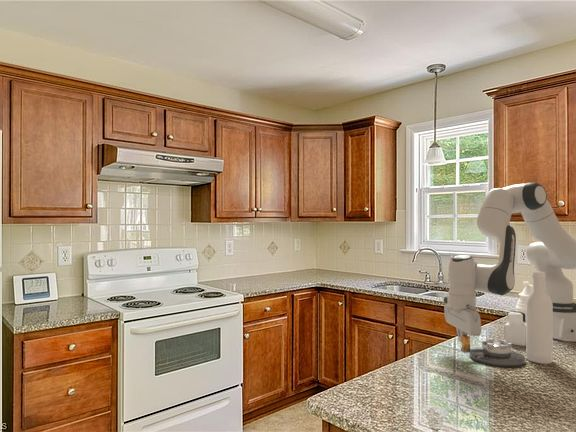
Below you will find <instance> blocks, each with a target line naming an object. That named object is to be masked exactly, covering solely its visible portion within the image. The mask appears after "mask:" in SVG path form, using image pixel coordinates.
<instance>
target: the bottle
mask: <svg viewBox="0 0 576 432" xmlns="http://www.w3.org/2000/svg"><path fill="white" fill-rule="evenodd" d="M545 278H546V276H545V272H538V271H532V285H533V293H531V294H530V295H529V296H528V298H527V301H526V321H525V324H526V345H525V347H526V348H525V355H526V358H525V359H526V360H527V361H529V362H532V363H535V364H540V365H541V364H543V365H544V364H545V365H547V364H548V365H550V364H552V363H553V362H554V338H553V304H552V301H551V298H550V297H549V296H548V295H547V294H546V293H545Z"/></svg>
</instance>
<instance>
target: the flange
mask: <svg viewBox="0 0 576 432" xmlns="http://www.w3.org/2000/svg"><path fill="white" fill-rule="evenodd" d="M469 358H470V359H471V360H473V361H475V362H477V363H480V364H483V365H487V366H491V367H500V368H518V367H522V366H524V365H525V364H526V358H525V356H524V355H523V354H522V353H519V352H516V351H513V350H511V357H508V358H498V357H491V356H488V355H485V354H483V353H482V352H469Z"/></svg>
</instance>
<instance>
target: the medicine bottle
mask: <svg viewBox="0 0 576 432" xmlns="http://www.w3.org/2000/svg"><path fill="white" fill-rule="evenodd" d="M503 331H504V333H503V334H504V338H503V340H506V344H507V343H511V345H514V346H520V347H526V321H525V314H524V313H522V312H518V311H516V310H511V311H508V312H507V323H505V324H504V329H503Z"/></svg>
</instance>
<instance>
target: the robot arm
mask: <svg viewBox="0 0 576 432" xmlns="http://www.w3.org/2000/svg"><path fill="white" fill-rule="evenodd" d="M517 213H518V214H519V213H521V217H522V218H523V221H524V222H525V224H526V226H527V229H528V230H529V233H530V236H532V237H533V238H534V239H535V240H538V241H534V242H532V243H530V244H529V245H528V246H527V248H526V258H527V260H528V261H529V262H530V264H532V265H533V266H534V268H535V269H536V272H545V276H546V278H545V293H546V294H547V295H548V296H549V297H550V298H551V301H552V304H553V340H554V339H555V340H559V341H563V342H576V302H574V285H573V284H574V283H573V282H572V281H571V280H570V279H569V278H567V276H565V273H564V272H563V270H564V269H565V270H576V239H575V238H573V237H572V235H570V234H569V233H568V231H566V230H565V228H564V227H563V226H562V225H561V223H560V221H559V220H558V218H557V217H558V216H557V215H556V213H555V211H554V209H553V207H552V205H551V204H550V202H549V200H548V194H547V190H546V189H545V187H544V186H543V185H541V184H540V183H539V182H526V183H517V184H512V185H509V186H505V187H502V188H501V187H497V188H492V189H490V190H489V191H488V192H487V194H486V196H485V197H484V199H483V202H482V203H481V206H480V207H479V211H478V215H477V218H476V226H477V228H478V230H479V232H480V233H482V234H483V235H484V236H485V237H487V238H489V239H491V240H494V241H496V242H498V243H499V256H498V262H497V263H496V264H486V263H485V264H482V263H479V262H476V261H475V258H474V257H473V256H472V255H470V254H458V255H455V256H452V257H451V258H450V259H449V260H450V261H449V266H448V284H449V289H448V295H446V296H444V297H443V299H442V300H443V301H442V302H443V303H444V307H443V308H444V309H443V310H444V319H445V322H446V323H447V324H449V325H451V326H453V327H455V328H456V334H457V336H458V337H457V339H458V342H460V343H462V335H467V336H470V337H480V336H481V334H482V321H481V316H480V313H479V312H478V310H477V303H476V302H477V295H476V294H477V293H476V291H478V292H483V293H491V294H494V295H498V296H505V295H507V294H509V293H510V292H511V291H512V290H513V289H514V287H515V258H516V247H517V245H516V244H517V235H516V231H515V229H514V227H513V226H511V218H512V214H517Z"/></svg>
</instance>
